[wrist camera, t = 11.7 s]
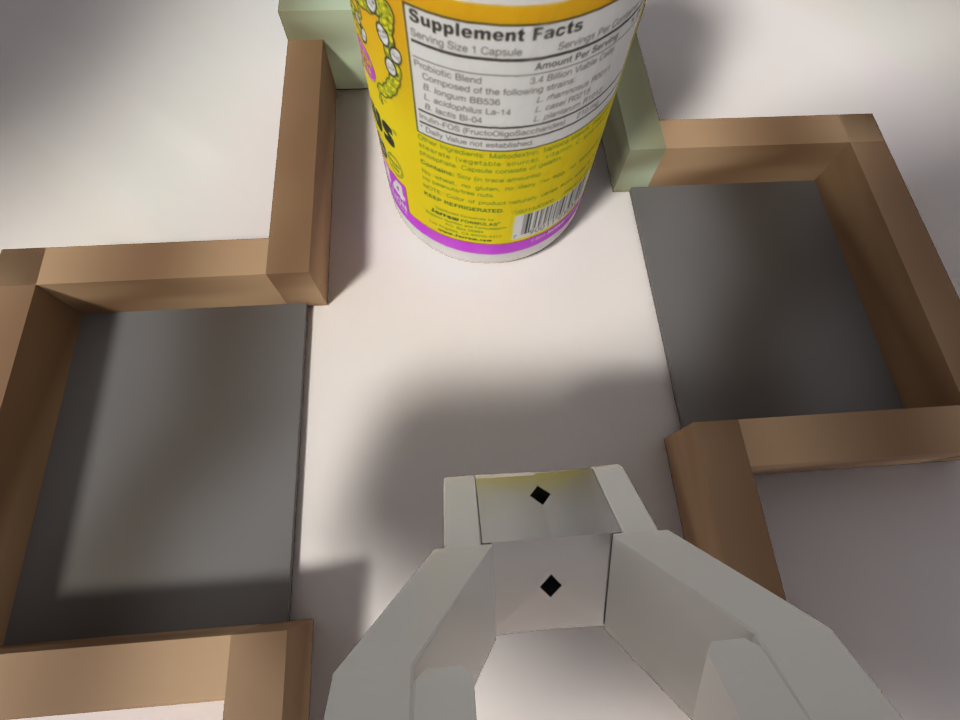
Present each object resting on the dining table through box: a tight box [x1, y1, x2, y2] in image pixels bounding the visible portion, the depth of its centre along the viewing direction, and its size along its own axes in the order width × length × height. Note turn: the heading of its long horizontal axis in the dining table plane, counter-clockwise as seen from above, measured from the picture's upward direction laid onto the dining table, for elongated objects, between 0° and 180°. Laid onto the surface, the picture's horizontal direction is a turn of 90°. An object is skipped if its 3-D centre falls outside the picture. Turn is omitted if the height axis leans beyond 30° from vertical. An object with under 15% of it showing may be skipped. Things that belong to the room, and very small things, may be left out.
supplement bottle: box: [350, 0, 646, 263], centre depth 12 cm, size 7×7×13 cm
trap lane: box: [0, 0, 960, 720], centre depth 14 cm, size 27×27×3 cm
